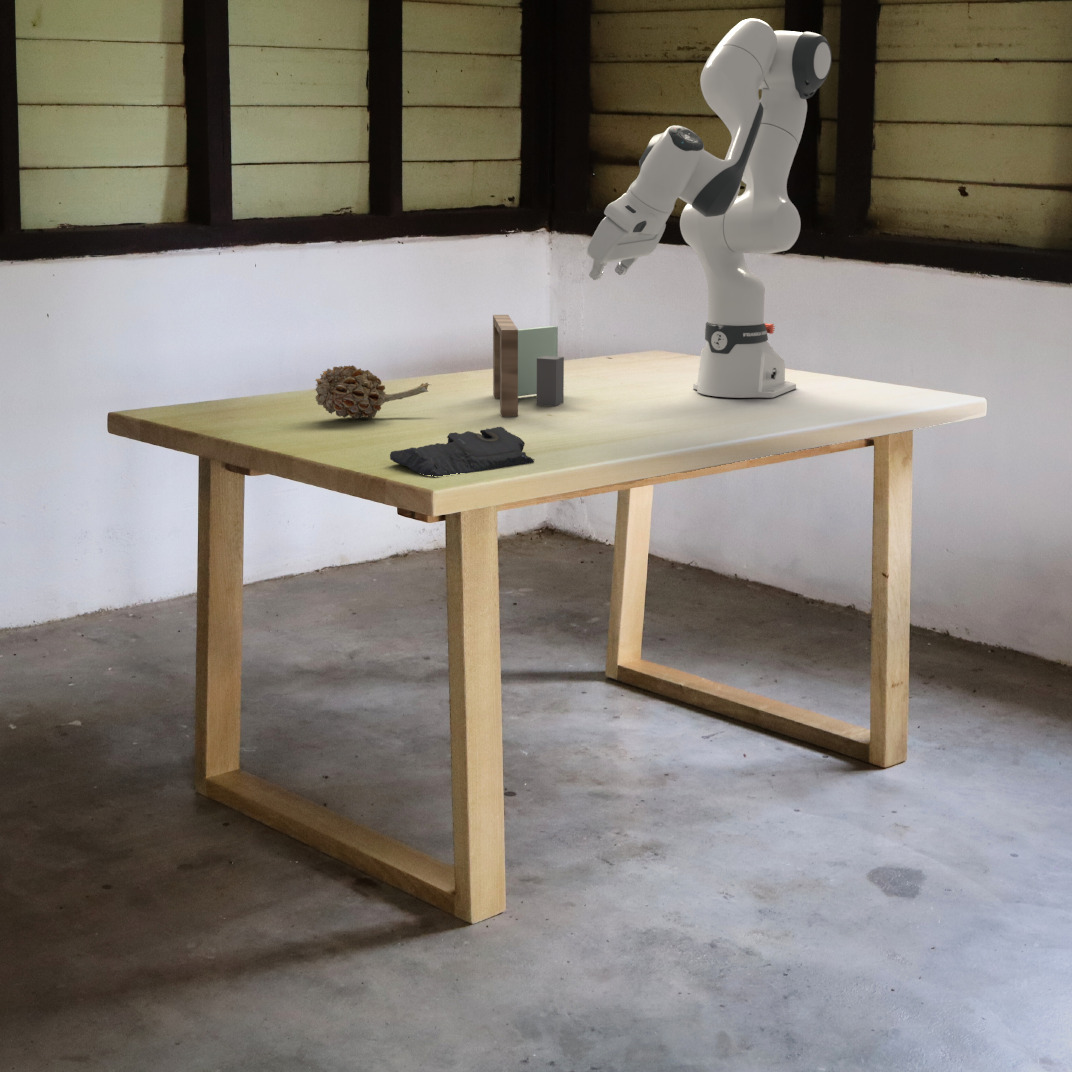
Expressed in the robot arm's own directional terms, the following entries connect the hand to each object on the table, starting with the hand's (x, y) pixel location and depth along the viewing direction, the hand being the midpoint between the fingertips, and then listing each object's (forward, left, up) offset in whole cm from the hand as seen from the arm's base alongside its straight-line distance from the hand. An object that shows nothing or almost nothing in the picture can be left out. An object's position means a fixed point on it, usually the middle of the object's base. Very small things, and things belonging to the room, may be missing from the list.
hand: (606, 275), depth 279 cm
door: (-4, -22, -25) cm, 33 cm away
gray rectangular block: (+1, -13, -25) cm, 28 cm away
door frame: (+8, -18, -25) cm, 32 cm away
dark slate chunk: (+52, +11, -26) cm, 60 cm away
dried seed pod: (+34, -28, -26) cm, 51 cm away
